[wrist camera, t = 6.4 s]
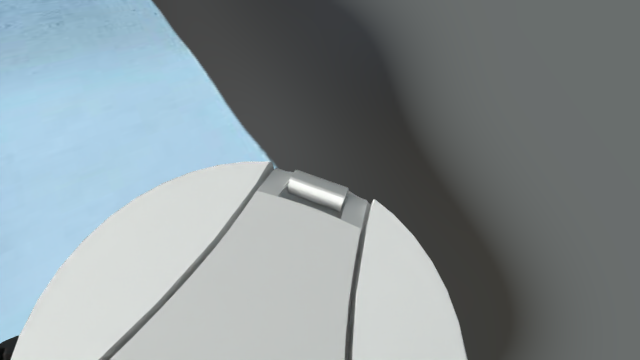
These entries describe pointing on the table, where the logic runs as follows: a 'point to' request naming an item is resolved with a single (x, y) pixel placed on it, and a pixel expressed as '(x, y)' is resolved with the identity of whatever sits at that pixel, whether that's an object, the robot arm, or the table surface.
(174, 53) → the table surface
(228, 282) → the coffee cup
